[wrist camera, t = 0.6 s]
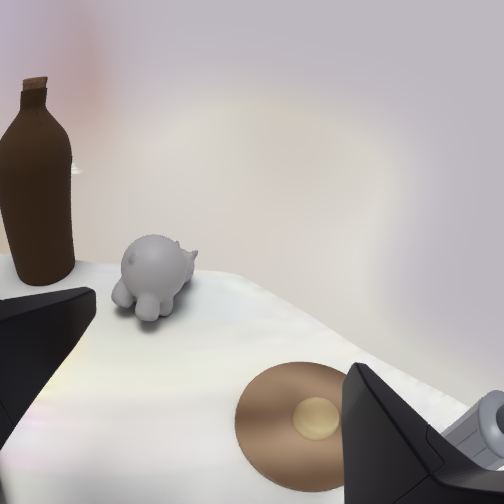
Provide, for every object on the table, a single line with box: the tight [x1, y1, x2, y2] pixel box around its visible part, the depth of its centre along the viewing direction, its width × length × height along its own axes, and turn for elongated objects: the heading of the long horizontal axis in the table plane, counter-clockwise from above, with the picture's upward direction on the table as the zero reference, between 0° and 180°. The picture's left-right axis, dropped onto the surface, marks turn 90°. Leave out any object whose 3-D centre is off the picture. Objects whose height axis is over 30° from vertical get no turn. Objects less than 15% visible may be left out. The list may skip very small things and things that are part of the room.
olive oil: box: [0, 77, 75, 286], centre depth 26 cm, size 11×11×25 cm
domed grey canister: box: [440, 390, 504, 471], centre depth 14 cm, size 7×7×13 cm
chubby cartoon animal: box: [111, 235, 198, 321], centre depth 32 cm, size 7×12×8 cm, turn 153°
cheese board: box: [235, 362, 346, 492], centre depth 22 cm, size 14×14×4 cm
